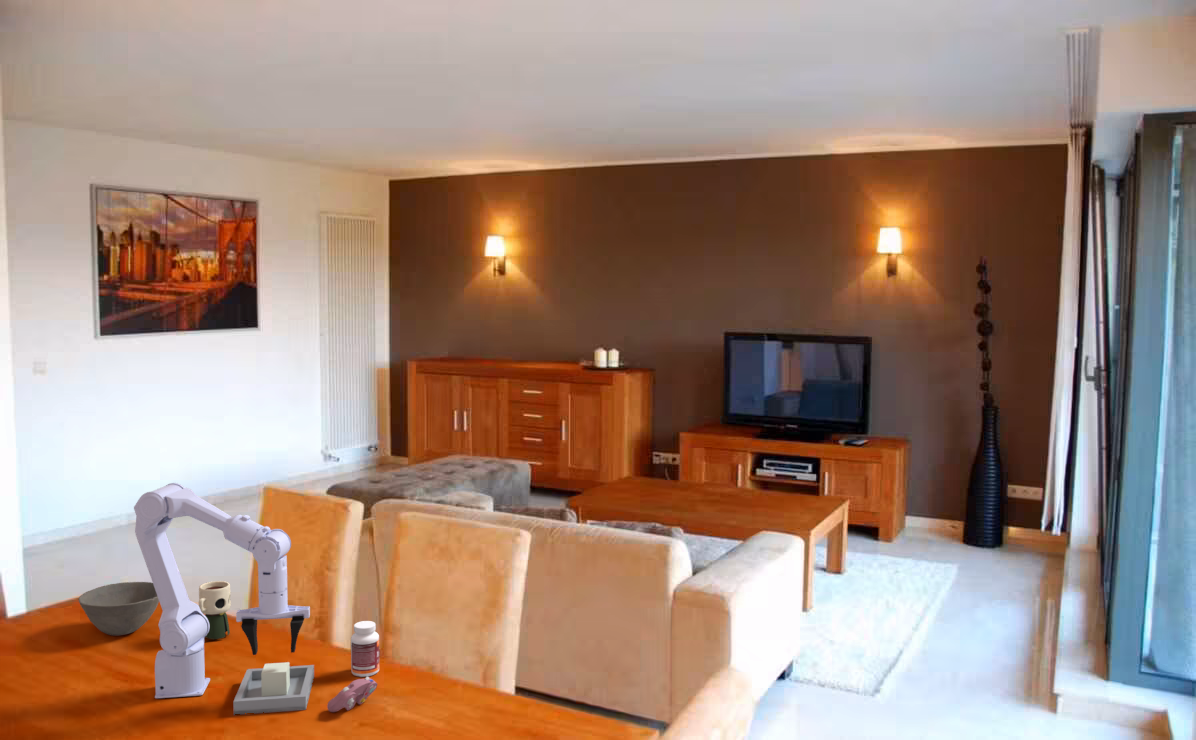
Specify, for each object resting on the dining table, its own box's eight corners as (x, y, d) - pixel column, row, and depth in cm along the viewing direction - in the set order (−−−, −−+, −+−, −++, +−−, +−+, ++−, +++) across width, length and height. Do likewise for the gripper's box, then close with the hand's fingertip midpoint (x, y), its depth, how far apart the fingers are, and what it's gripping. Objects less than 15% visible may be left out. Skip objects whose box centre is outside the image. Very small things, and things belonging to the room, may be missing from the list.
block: (261, 696, 196) (261, 673, 195) (265, 686, 201) (264, 663, 200) (286, 694, 197) (286, 671, 196) (289, 684, 201) (289, 662, 201)
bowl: (142, 647, 223) (141, 606, 222) (64, 646, 223) (62, 605, 222) (178, 619, 241) (177, 581, 240) (106, 617, 242) (104, 580, 241)
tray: (233, 714, 189) (233, 701, 189) (247, 681, 205) (247, 669, 204) (305, 709, 192) (305, 696, 191) (314, 677, 207) (313, 664, 207)
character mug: (213, 646, 223) (211, 594, 222) (188, 643, 225) (186, 590, 224) (242, 630, 234) (241, 580, 233) (218, 627, 236) (217, 577, 235)
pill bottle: (383, 673, 209) (383, 626, 208) (356, 680, 206) (356, 631, 205) (373, 664, 215) (373, 617, 214) (347, 670, 211) (346, 622, 210)
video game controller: (338, 723, 189) (348, 697, 187) (323, 708, 191) (334, 682, 189) (373, 705, 198) (384, 679, 195) (359, 691, 200) (369, 666, 197)
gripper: (311, 581, 201) (312, 642, 203) (240, 584, 199) (241, 646, 200) (307, 592, 195) (308, 655, 196) (233, 595, 192) (235, 659, 193)
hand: (274, 651), depth 197 cm, fingers open, 7 cm apart
